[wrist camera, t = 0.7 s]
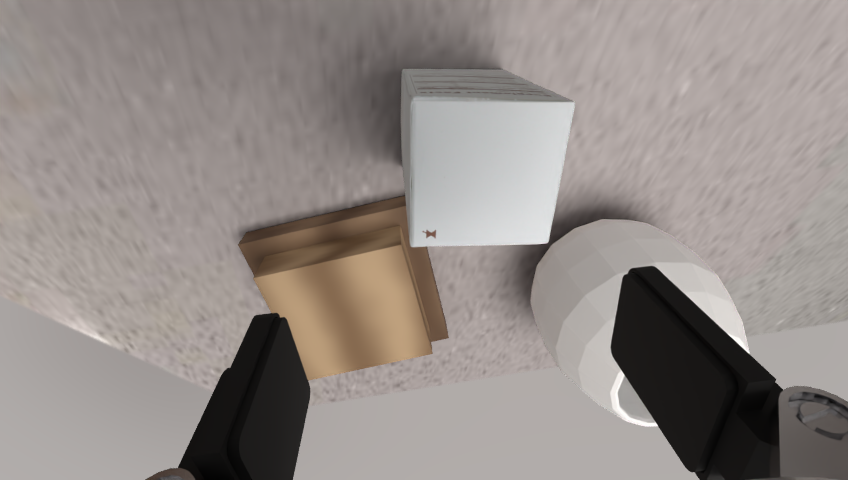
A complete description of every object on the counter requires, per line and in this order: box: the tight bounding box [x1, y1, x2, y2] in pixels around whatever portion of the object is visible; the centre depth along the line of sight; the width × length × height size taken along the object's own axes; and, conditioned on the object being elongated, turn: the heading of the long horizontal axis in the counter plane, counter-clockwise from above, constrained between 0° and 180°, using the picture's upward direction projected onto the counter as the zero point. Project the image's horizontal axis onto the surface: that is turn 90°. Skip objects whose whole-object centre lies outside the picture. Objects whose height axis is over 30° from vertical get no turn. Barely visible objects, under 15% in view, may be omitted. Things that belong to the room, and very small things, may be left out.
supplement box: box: [401, 69, 575, 247], centre depth 24 cm, size 7×7×13 cm
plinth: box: [238, 196, 449, 380], centre depth 34 cm, size 14×14×5 cm
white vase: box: [530, 219, 750, 426], centre depth 31 cm, size 13×13×14 cm
